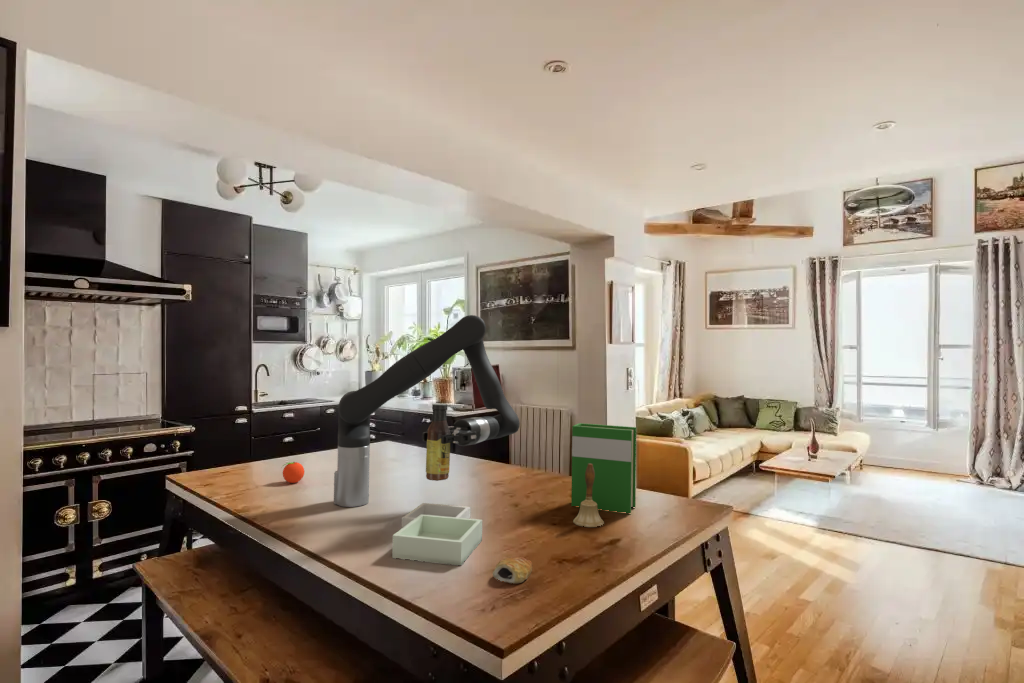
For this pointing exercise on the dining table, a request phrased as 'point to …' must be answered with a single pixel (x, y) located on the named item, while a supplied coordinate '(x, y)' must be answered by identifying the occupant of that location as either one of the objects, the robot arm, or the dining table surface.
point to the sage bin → (438, 539)
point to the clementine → (293, 472)
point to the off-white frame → (436, 512)
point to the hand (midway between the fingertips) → (432, 438)
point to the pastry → (513, 570)
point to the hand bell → (588, 504)
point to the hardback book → (605, 465)
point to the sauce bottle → (438, 445)
